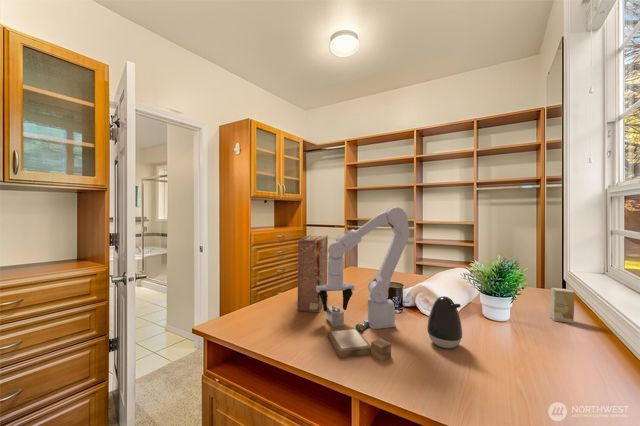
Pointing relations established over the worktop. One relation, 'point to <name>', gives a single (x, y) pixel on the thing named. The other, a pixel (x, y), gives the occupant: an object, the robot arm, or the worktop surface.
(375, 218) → the robot arm
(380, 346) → the walnut block
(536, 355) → the worktop surface
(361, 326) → the loose bolt
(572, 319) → the skincare box
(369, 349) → the stand
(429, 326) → the pump dispenser
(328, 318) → the housing
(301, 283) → the book
